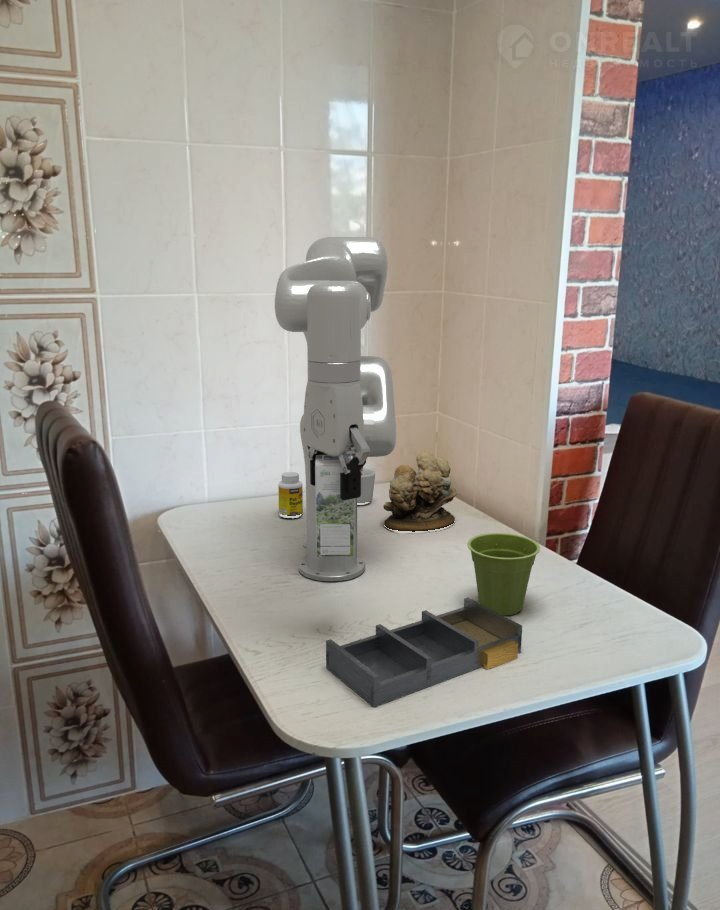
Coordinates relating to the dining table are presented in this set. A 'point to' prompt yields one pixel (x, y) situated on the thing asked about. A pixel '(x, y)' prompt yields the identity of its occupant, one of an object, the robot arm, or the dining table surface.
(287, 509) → the supplement bottle
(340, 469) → the syrup box
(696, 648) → the dining table surface
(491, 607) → the plant pot
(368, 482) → the cup
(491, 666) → the tray
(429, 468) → the brown lumpy piece
